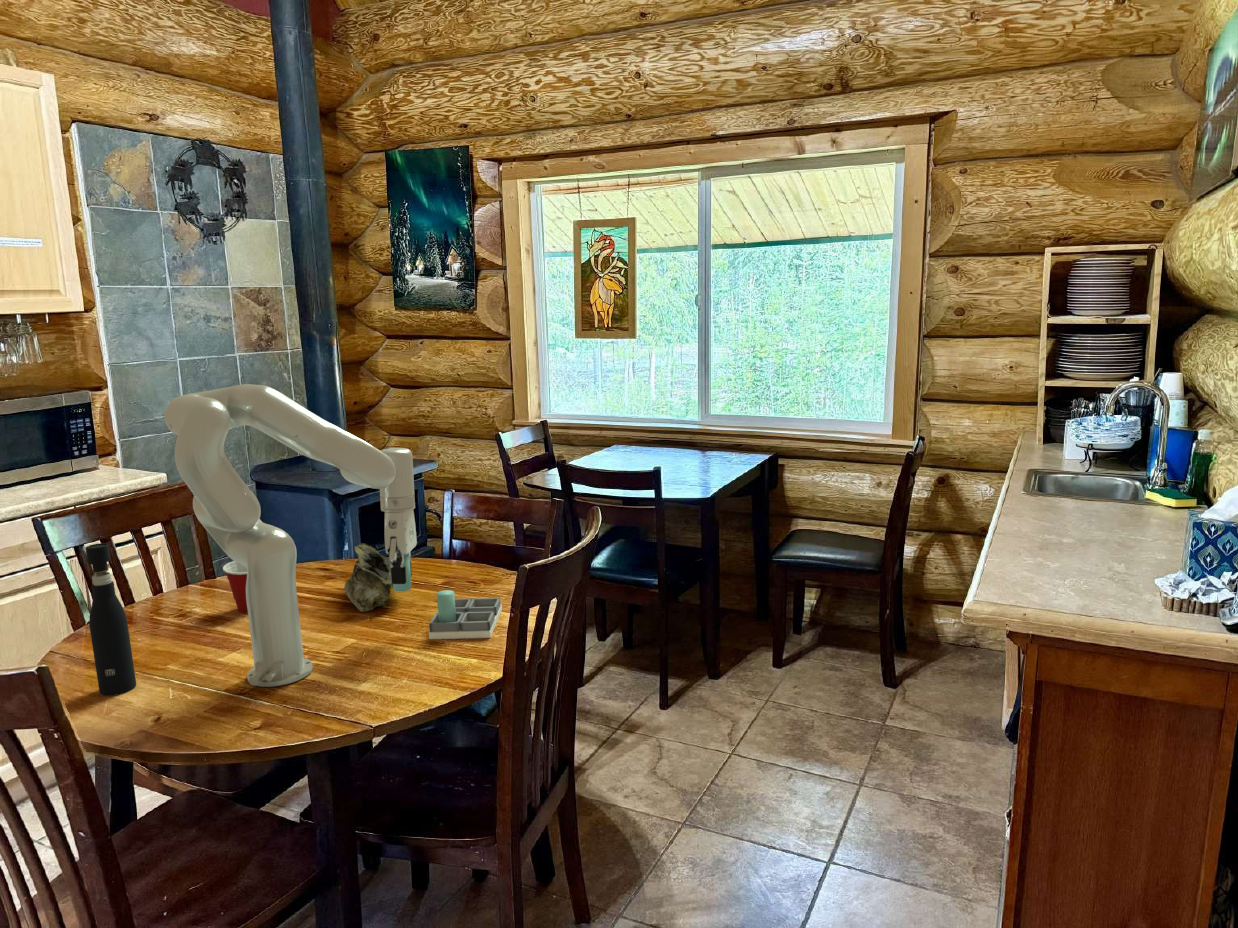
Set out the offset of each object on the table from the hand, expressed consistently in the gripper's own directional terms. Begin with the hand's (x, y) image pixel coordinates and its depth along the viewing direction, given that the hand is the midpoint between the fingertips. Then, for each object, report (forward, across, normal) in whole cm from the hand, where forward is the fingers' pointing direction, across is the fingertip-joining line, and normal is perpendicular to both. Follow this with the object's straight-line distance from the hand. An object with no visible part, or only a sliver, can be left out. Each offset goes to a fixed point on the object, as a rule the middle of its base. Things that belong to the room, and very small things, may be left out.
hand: (401, 579), depth 191 cm
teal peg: (+2, 0, 0) cm, 2 cm away
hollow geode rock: (+13, +27, +15) cm, 33 cm away
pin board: (+12, +5, -14) cm, 19 cm away
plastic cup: (+13, +19, +44) cm, 50 cm away
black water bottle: (+15, -26, +51) cm, 59 cm away
